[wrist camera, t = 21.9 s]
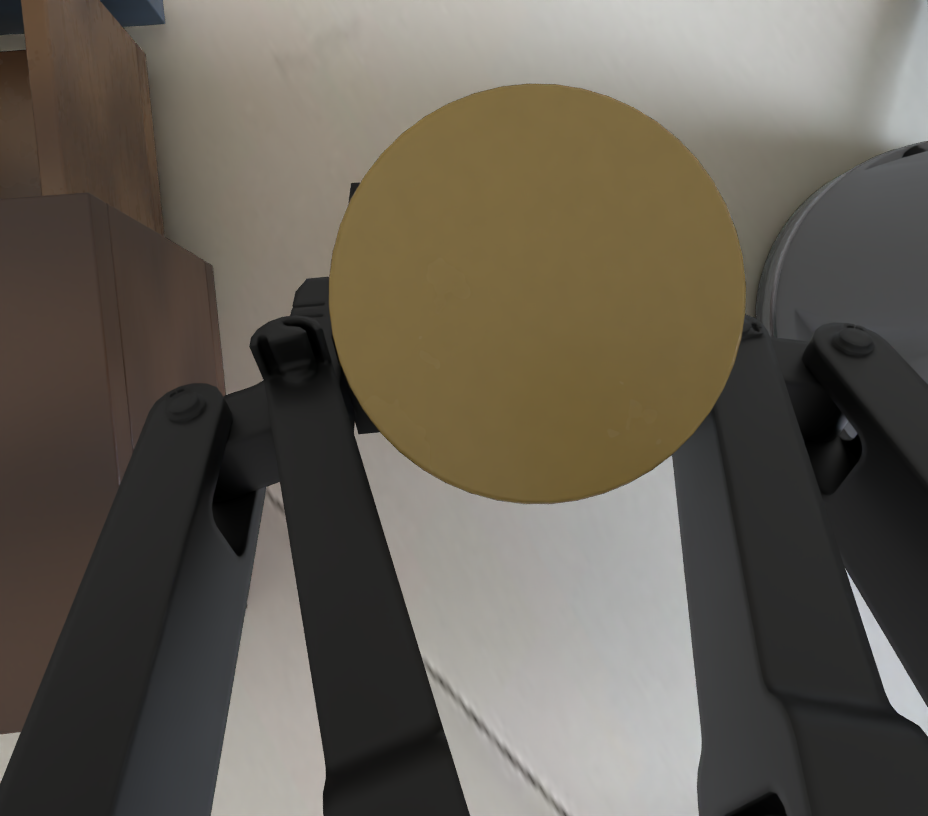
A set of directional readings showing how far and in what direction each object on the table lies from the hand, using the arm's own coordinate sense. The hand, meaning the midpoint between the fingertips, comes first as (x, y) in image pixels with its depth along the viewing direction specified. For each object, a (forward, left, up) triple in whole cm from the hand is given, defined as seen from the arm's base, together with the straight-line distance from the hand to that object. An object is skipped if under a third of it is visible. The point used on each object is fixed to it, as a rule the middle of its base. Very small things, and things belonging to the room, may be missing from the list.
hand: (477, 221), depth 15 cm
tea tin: (+3, +2, -4) cm, 5 cm away
